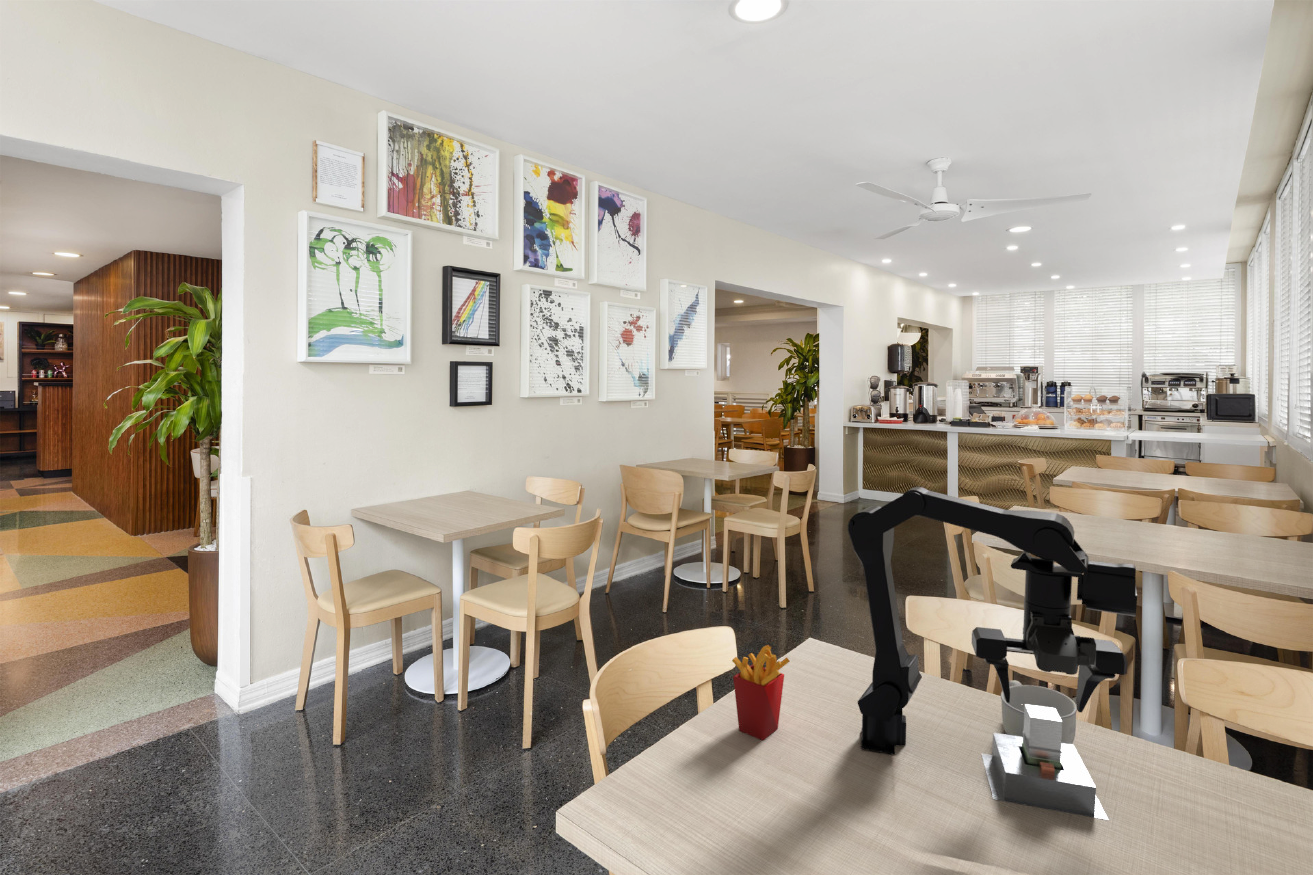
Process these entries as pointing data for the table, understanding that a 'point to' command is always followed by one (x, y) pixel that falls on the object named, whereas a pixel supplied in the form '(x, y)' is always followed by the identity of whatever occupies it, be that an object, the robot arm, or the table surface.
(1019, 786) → the housing
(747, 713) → the french fries
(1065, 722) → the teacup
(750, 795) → the table surface
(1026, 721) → the column
